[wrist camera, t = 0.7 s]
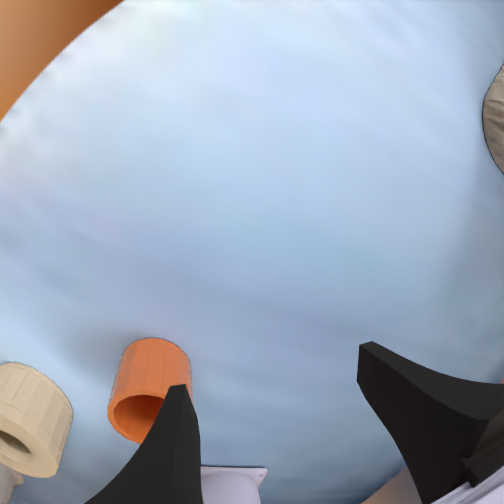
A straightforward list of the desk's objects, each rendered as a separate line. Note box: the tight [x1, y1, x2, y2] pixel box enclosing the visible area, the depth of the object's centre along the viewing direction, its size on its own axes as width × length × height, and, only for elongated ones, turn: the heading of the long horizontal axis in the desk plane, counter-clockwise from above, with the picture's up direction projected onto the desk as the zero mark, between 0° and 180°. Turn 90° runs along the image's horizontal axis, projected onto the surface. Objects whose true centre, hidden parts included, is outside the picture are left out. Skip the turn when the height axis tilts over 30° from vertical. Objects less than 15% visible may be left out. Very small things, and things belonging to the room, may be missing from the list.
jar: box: [0, 363, 73, 478], centre depth 18 cm, size 8×8×6 cm
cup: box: [108, 338, 193, 444], centre depth 19 cm, size 5×5×6 cm
